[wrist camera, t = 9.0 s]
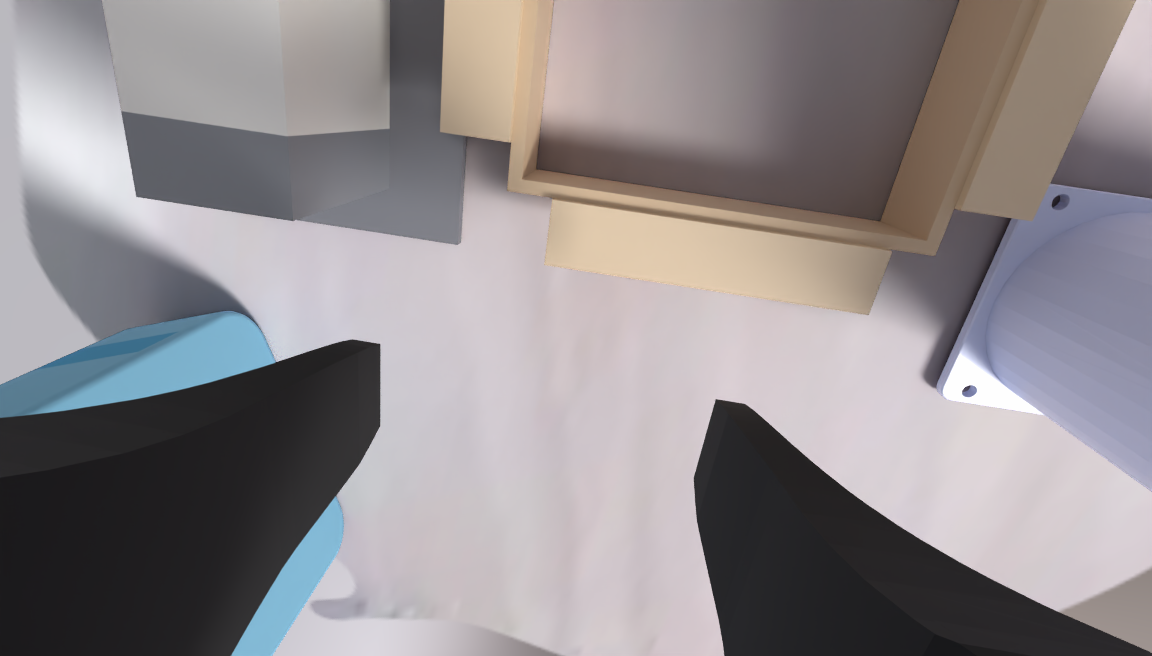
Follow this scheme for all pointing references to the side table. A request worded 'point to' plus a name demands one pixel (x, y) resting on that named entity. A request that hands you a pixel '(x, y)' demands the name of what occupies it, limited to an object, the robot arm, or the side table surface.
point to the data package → (171, 364)
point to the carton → (781, 234)
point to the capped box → (254, 101)
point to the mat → (414, 140)
